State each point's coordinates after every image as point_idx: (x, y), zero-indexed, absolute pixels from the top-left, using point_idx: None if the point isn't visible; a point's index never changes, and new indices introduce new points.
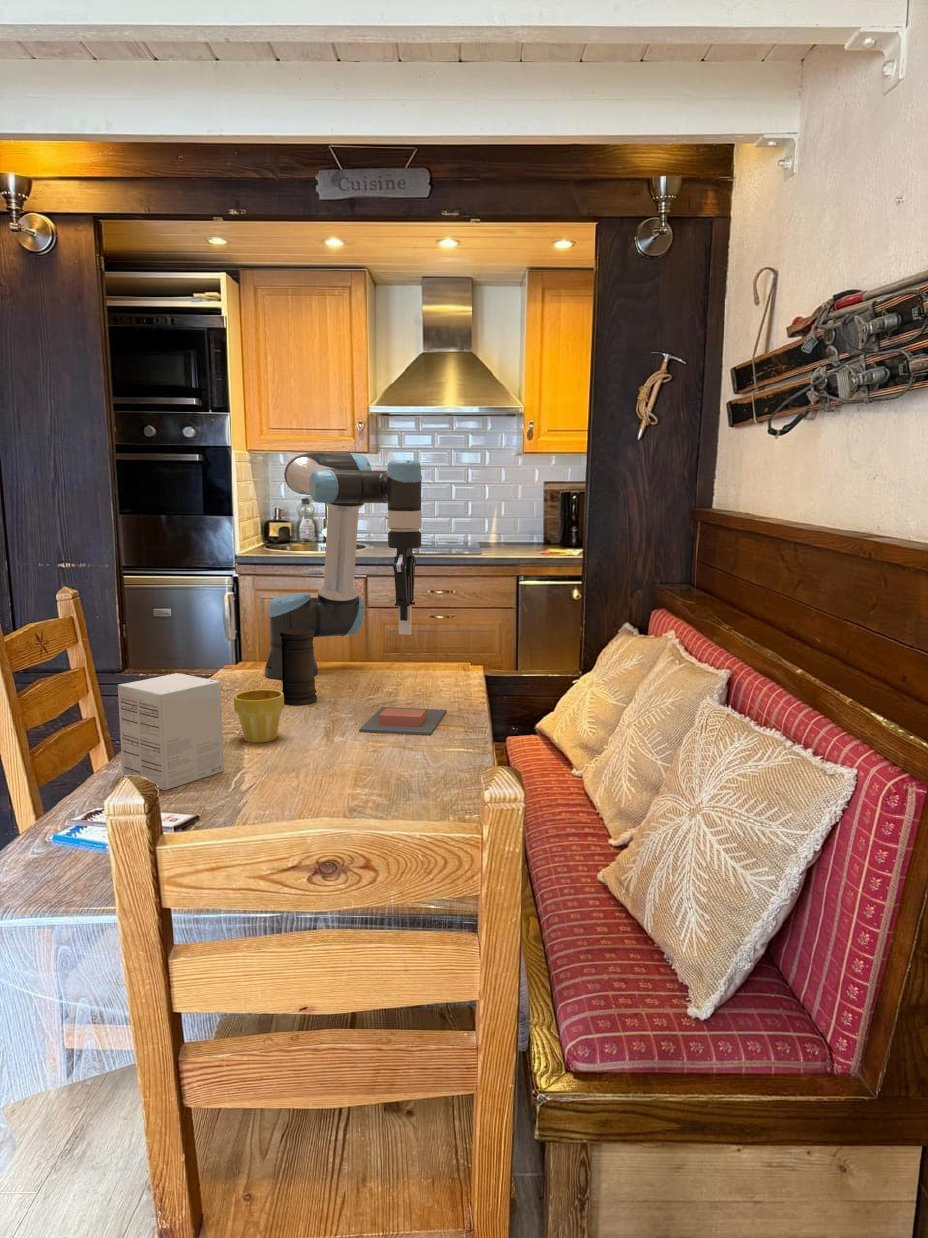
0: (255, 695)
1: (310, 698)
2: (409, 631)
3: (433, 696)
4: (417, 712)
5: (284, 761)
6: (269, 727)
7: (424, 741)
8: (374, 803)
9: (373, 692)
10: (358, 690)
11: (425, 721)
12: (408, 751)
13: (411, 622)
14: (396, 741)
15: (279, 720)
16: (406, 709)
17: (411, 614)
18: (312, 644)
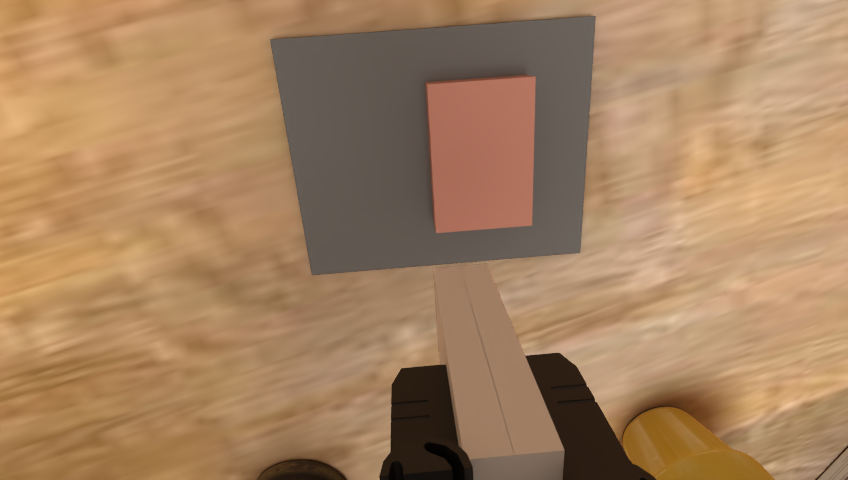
0: None
1: (315, 475)
2: (491, 281)
3: (55, 158)
4: (471, 107)
5: (835, 322)
6: (712, 433)
7: (662, 19)
8: None
9: (110, 364)
10: (108, 411)
11: (455, 76)
12: (771, 41)
13: (447, 317)
14: (665, 112)
15: (672, 435)
16: (438, 160)
17: (454, 370)
18: None
